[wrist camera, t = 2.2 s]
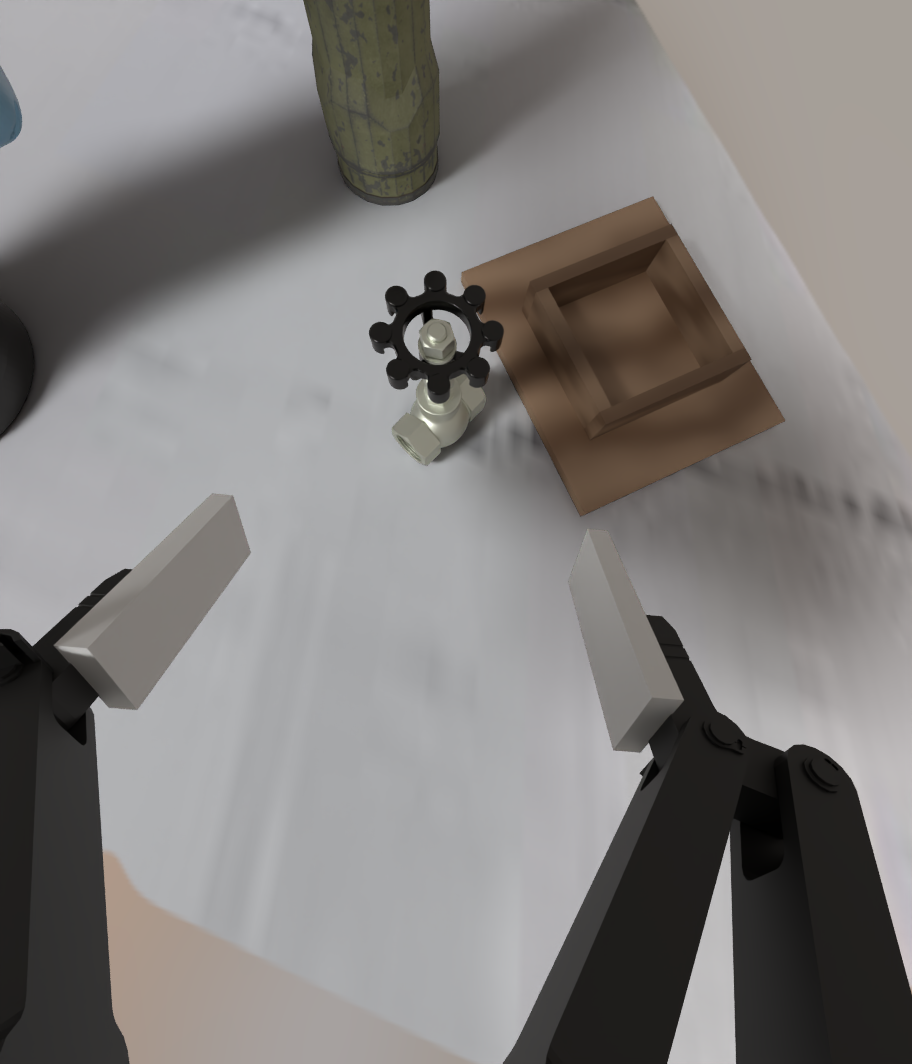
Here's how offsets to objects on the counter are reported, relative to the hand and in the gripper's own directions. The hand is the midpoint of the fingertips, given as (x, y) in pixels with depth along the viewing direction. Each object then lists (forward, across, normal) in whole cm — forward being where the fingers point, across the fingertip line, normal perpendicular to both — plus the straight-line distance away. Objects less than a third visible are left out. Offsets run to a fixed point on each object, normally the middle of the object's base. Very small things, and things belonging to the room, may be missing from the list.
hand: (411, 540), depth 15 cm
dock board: (+23, +14, +3) cm, 27 cm away
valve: (+18, 0, -3) cm, 18 cm away
